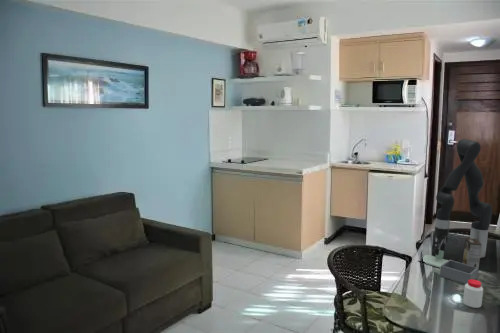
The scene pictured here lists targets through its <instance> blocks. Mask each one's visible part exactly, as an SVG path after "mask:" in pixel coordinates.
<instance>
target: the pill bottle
mask: <svg viewBox="0 0 500 333" xmlns="http://www.w3.org/2000/svg"><path fill="white" fill-rule="evenodd" d="M463 290H464V291H463V298H462V302H463V304H464V305H465V306H468V307H469V308H475V309H476V308H477V309H478V308H481V307H482V302H483V296H484V295H483V294H484V287H483V286H482V282H481V281H479V280H478V279H476V280H473V279H470V280H468V283H467V284H464V288H463Z"/></svg>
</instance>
